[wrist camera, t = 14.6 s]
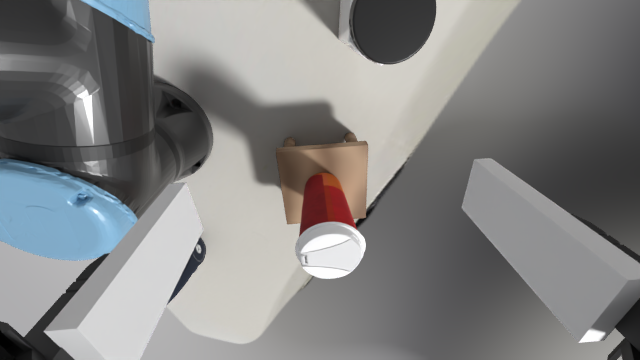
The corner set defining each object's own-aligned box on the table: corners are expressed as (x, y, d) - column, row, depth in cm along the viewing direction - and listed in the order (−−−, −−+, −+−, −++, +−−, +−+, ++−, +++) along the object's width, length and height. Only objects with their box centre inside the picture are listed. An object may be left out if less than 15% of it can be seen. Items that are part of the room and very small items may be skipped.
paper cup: (300, 210, 42) (298, 284, 30) (295, 167, 38) (291, 233, 26) (348, 206, 42) (366, 278, 30) (348, 163, 38) (369, 227, 26)
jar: (323, 30, 36) (332, 33, 25) (358, -34, 32) (384, -62, 22) (375, 67, 39) (402, 82, 28) (412, 11, 35) (458, 5, 25)
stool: (289, 200, 49) (287, 224, 43) (279, 134, 43) (275, 152, 37) (358, 194, 50) (365, 217, 44) (359, 128, 43) (368, 145, 37)
